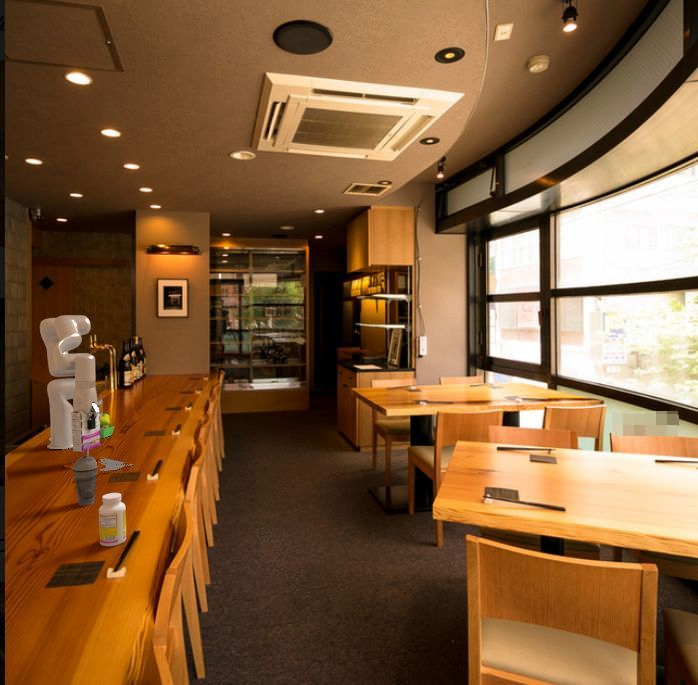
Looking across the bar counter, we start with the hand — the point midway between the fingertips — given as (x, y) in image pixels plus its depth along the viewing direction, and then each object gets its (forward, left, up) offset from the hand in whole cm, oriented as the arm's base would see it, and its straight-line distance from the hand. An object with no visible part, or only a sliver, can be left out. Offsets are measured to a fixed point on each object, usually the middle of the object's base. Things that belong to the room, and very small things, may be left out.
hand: (86, 427), depth 213 cm
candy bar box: (0, 0, -9) cm, 9 cm away
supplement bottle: (+75, -42, -15) cm, 87 cm away
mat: (+7, 0, -15) cm, 16 cm away
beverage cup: (+42, -28, -15) cm, 53 cm away
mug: (-78, +53, -15) cm, 96 cm away
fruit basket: (-38, +33, -15) cm, 53 cm away
